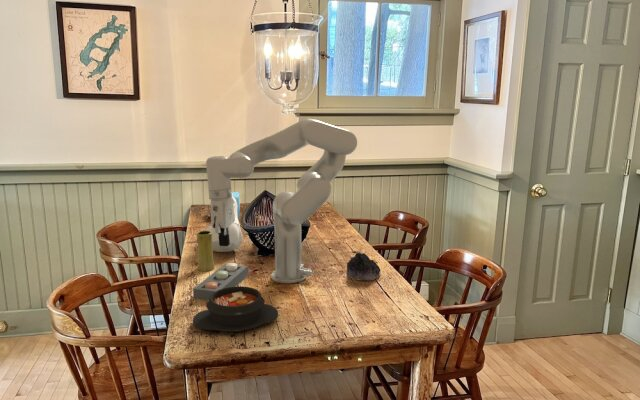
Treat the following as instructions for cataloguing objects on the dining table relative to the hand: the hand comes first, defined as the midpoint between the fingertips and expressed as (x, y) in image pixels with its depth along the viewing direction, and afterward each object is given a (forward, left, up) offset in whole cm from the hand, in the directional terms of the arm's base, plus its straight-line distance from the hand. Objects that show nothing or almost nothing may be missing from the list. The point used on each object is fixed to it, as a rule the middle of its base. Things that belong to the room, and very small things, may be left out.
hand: (224, 245), depth 174 cm
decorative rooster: (+18, -36, -15) cm, 43 cm away
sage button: (+1, +2, -12) cm, 12 cm away
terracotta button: (+1, +10, -13) cm, 16 cm away
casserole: (-15, +25, -15) cm, 33 cm away
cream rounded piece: (+1, -6, -12) cm, 14 cm away
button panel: (+1, +2, -15) cm, 15 cm away
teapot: (+37, -82, -15) cm, 92 cm away
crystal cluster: (-45, -22, -15) cm, 52 cm away
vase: (+14, -12, -15) cm, 24 cm away
